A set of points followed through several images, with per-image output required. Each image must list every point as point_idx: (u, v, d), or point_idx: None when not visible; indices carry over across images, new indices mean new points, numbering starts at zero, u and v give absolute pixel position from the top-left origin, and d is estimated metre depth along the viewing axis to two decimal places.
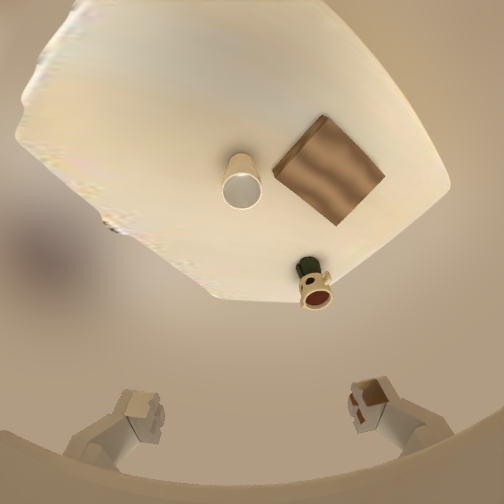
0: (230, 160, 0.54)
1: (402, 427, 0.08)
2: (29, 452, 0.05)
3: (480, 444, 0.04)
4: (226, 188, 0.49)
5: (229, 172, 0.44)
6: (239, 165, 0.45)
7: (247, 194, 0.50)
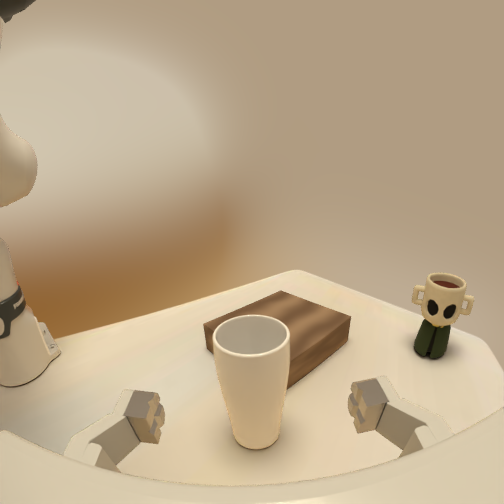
0: (237, 435, 0.25)
1: (402, 427, 0.08)
2: (29, 452, 0.05)
3: (480, 444, 0.04)
4: None
5: (216, 360, 0.22)
6: None
7: None
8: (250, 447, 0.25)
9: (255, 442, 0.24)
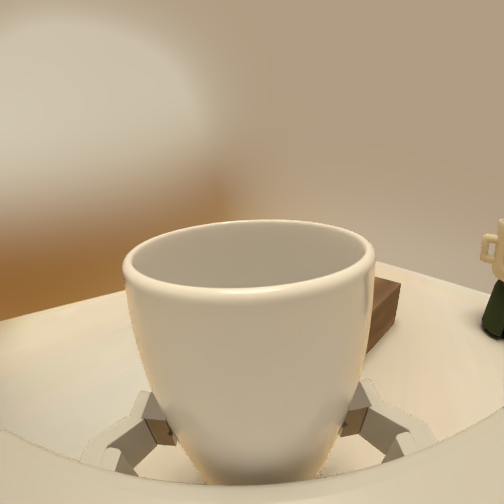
0: None
1: (385, 432, 0.08)
2: (29, 452, 0.05)
3: (480, 444, 0.04)
4: None
5: None
6: None
7: None
8: None
9: None
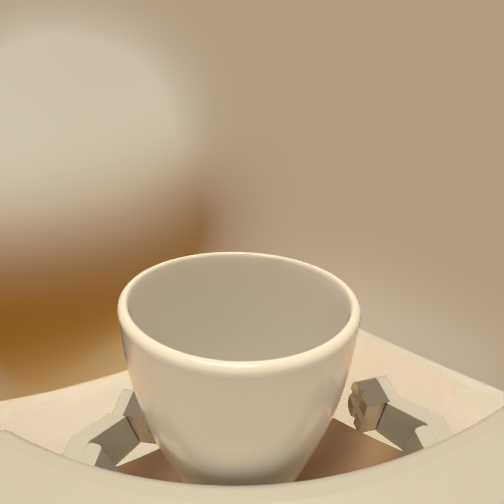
0: None
1: (402, 427, 0.08)
2: (29, 452, 0.05)
3: (480, 444, 0.04)
4: None
5: None
6: None
7: None
8: None
9: None
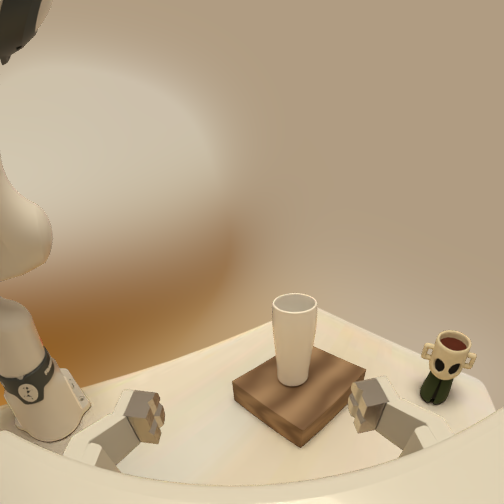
0: (282, 375, 0.42)
1: (402, 427, 0.08)
2: (29, 452, 0.05)
3: (480, 444, 0.04)
4: None
5: (274, 318, 0.40)
6: (272, 323, 0.42)
7: None
8: (290, 384, 0.42)
9: (293, 379, 0.41)
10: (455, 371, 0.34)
